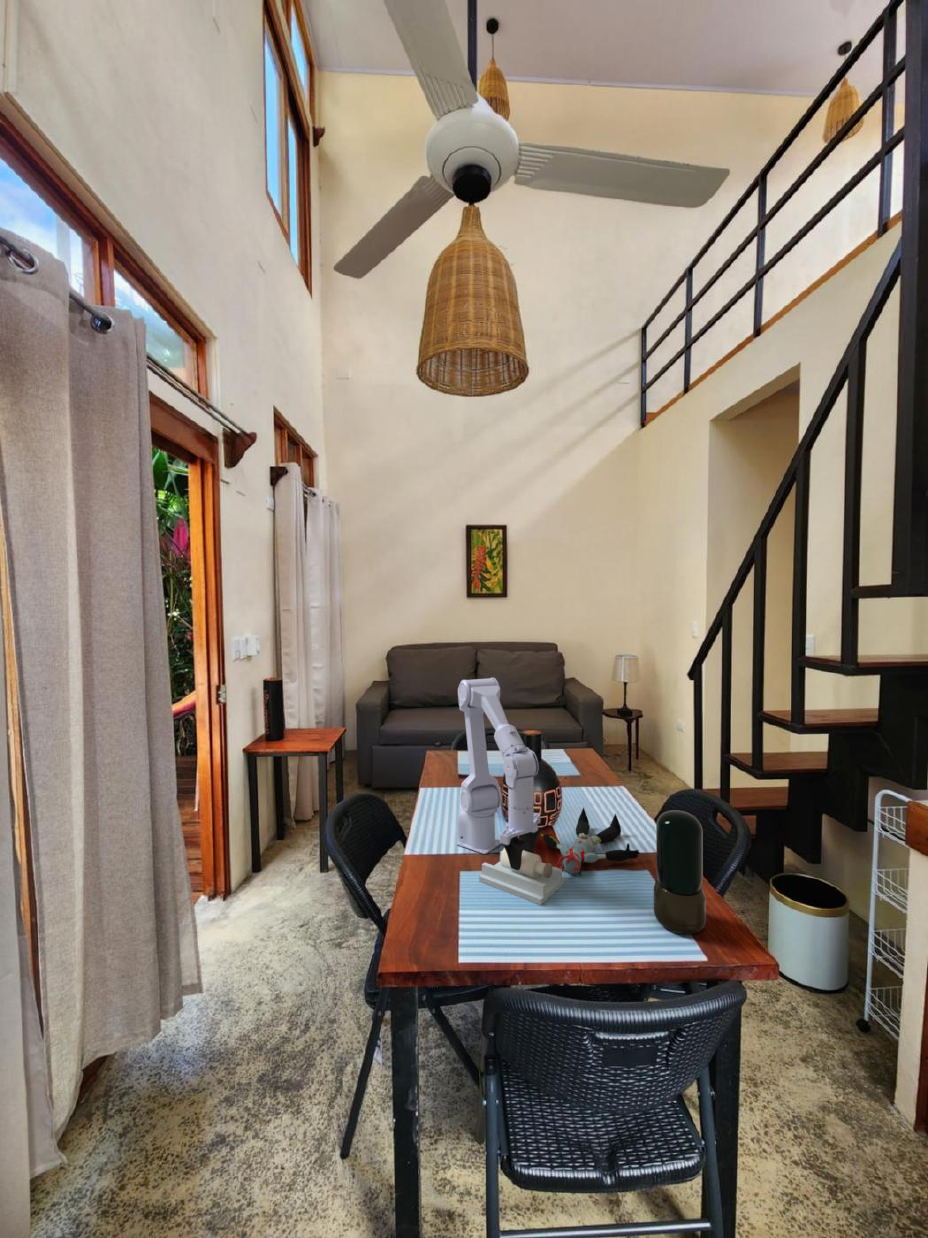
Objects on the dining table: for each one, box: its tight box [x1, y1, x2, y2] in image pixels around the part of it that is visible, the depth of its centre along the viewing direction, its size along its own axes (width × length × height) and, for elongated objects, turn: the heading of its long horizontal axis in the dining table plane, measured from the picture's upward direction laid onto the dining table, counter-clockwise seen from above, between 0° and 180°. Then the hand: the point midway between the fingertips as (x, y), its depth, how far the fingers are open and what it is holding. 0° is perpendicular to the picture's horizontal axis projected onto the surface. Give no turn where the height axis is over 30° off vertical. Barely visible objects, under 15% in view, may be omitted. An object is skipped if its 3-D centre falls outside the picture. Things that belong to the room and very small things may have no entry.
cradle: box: [478, 849, 565, 906], centre depth 118 cm, size 16×11×4 cm
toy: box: [540, 807, 641, 877], centre depth 131 cm, size 26×8×30 cm
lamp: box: [653, 809, 707, 935], centre depth 102 cm, size 10×10×22 cm
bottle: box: [499, 847, 553, 878], centre depth 117 cm, size 11×5×5 cm, turn 52°
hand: (521, 864), depth 118 cm, fingers closed on bottle, 5 cm apart
